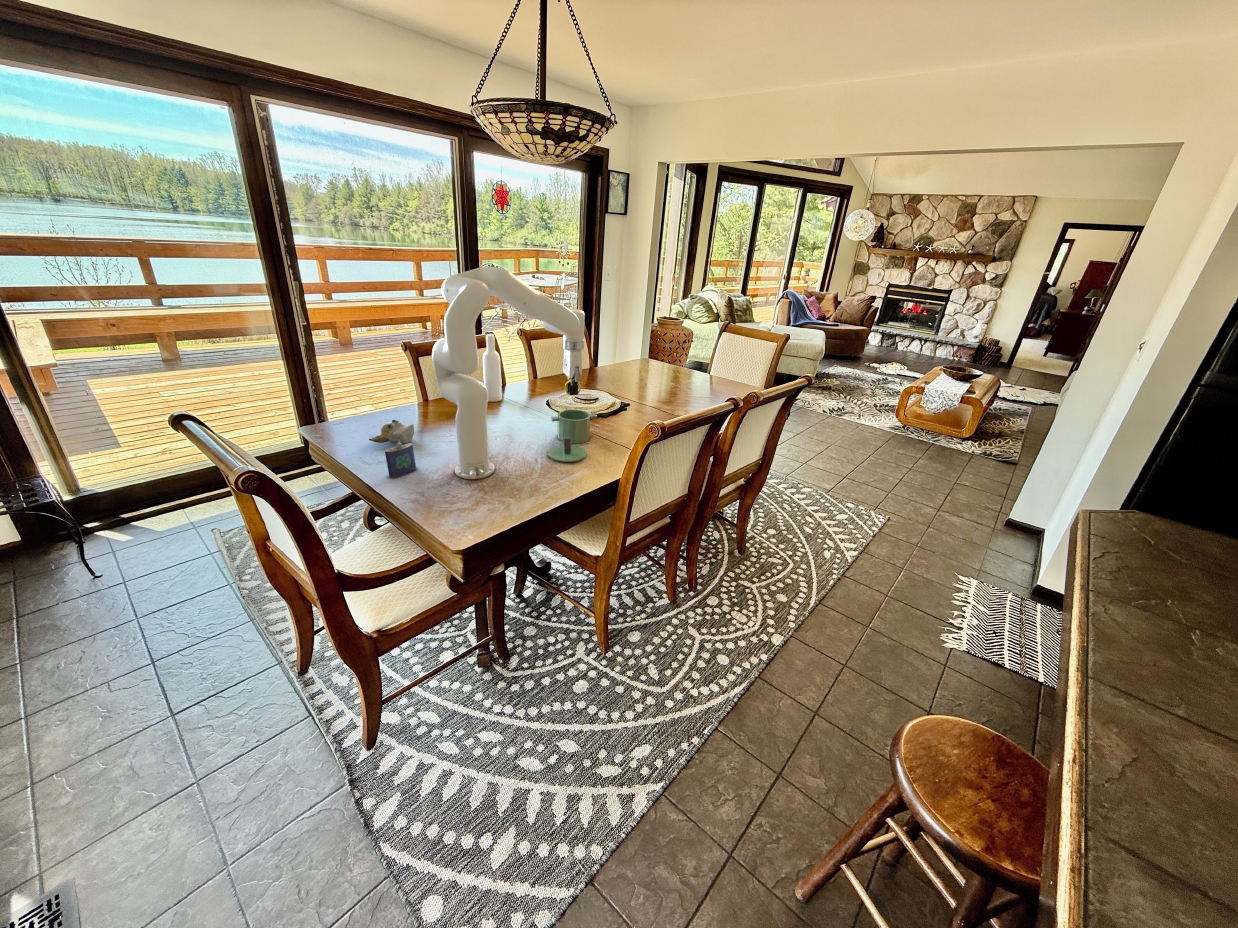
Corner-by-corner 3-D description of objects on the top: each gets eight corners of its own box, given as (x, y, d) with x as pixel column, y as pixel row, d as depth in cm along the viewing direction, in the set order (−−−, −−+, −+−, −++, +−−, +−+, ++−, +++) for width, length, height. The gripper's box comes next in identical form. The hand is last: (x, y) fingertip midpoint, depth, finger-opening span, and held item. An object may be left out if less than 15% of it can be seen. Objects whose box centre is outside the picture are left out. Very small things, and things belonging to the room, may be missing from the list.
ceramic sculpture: (406, 425, 168) (363, 425, 168) (410, 448, 172) (369, 447, 172) (418, 415, 178) (378, 415, 178) (422, 437, 181) (383, 436, 182)
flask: (413, 466, 159) (409, 437, 154) (418, 469, 158) (414, 439, 153) (387, 476, 152) (382, 445, 148) (392, 479, 151) (387, 448, 146)
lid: (590, 461, 172) (591, 443, 168) (553, 465, 167) (553, 446, 164) (579, 446, 183) (580, 429, 180) (544, 449, 178) (544, 431, 175)
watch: (580, 394, 184) (581, 379, 181) (580, 396, 182) (581, 381, 179) (564, 393, 183) (565, 378, 181) (564, 395, 181) (564, 380, 178)
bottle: (505, 399, 228) (503, 335, 215) (493, 403, 222) (490, 337, 209) (493, 395, 231) (490, 332, 218) (481, 399, 225) (477, 334, 212)
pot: (600, 441, 188) (601, 418, 184) (555, 445, 182) (555, 422, 178) (590, 429, 199) (591, 408, 195) (547, 433, 193) (547, 410, 189)
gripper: (557, 340, 180) (557, 388, 188) (569, 350, 166) (568, 401, 174) (577, 340, 182) (576, 387, 190) (590, 349, 169) (588, 399, 177)
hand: (572, 393), depth 182 cm, fingers closed on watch, 2 cm apart
